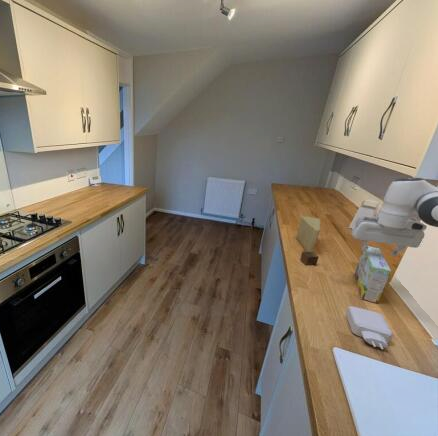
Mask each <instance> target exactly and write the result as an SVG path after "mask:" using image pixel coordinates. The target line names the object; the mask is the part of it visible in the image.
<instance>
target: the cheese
mask: <svg viewBox="0 0 438 436" xmlns="http://www.w3.org/2000/svg"><path fill="white" fill-rule="evenodd" d="M321 225H322V219H321V218H318V217H311V216H301V217H300V221H299V225H298V230H297V233H296V237H295V238H296V239H297V241H298V242H299V243H300V244H301V246H302V247H303V249H304V252H313V253H314V250H315V246H316V243H317V241H318V238H319V235H320V232H321Z"/></svg>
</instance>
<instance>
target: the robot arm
mask: <svg viewBox="0 0 438 436" xmlns="http://www.w3.org/2000/svg"><path fill="white" fill-rule="evenodd" d="M413 215H417V216H418V217H419V219H420V221H419V220H416V219H415V218H413ZM421 221H422V222H421ZM427 225H428V226H430V227H435V228H438V187H437V186H435V185H433V184H431V183H429V182H428V181H427V180H426V179H425V178H422V177H415V176H413V177H412V176H411V177H410V176H409V177H400V178H397V179H395V180H393V181H392V182H391V183H390V184H389V186H388V188H387V190H386V192H385V194H384V197H383V203H382V205H381V206H380V208H378V211H377V216H376V218H368V217H362V218H359V219H357V221H356V224H355V227H354V229H351V233H350V234H351V237H352V238H353V239H355V240H358V241H360V243H361V247H360V249H361V251H363V250H364V251H367V249H368V248H369V247H370V246H369V247H367V246H368V245H366V244H367V243H368V242H372V243H373V242H374V243H379V244H387V245H393V246H397V247H396V248H394V249H393V248H391V250H390V252H389V253H390V255H391V256H396V257H397V256H398V255H399V253H400V252H402V251H403V250H405V249H406V248H407V247H408V248H412V249H413V248H414V249H416V248H419V247H420V246H421V245H420V243H421V241H422V239H423V238H425V235H426V233H425V231H426V230H427ZM423 240H424V239H423ZM422 242H423V241H422ZM419 245H420V246H419Z"/></svg>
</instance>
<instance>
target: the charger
mask: <svg viewBox="0 0 438 436" xmlns="http://www.w3.org/2000/svg"><path fill="white" fill-rule="evenodd" d="M345 316H346V319H347V322H348V325H349V328H350V330H351V333H352V334H354V335H356V336H357V337H360V338H363V340H364V341H365V342H366V343H368V344H369V345H371V346H373V347H374V348H376V347H378V348H380V349H381V350H384V348H389V345H388V344H390V342H391V340H392V338H393V336H394V334H393V331H392V330H391V328H390V327H389V325H388V323H387V321H386V319H385V317H384V315H383V314H382V313H379V312H375V311H372V310H368V309H364V308H361V307H357V306H351V305H350V306H348V307H347V310H346V313H345Z"/></svg>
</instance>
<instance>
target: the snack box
mask: <svg viewBox="0 0 438 436" xmlns="http://www.w3.org/2000/svg"><path fill="white" fill-rule="evenodd" d="M367 247H369V248H368V249H367V251H364V250H361V254H360V257H359V260H358V263H357V266H356V269H355V271H354V276H355V281H356V285H357V289H358V292H359V296H360V299H361V300H363V301H367V302H370V303H374V304H378V303H379V302H380V298H381V297H382V293H383V292H384V289H385V287H386V284H387V283H388V280H389V278H390V275H391V273H392V270H391V268H390V266H389V264H388V262H387V260H386V259H385V257H384V255H383V253H382V251H381V250H380V248H379V247H374V246H369V245H367Z"/></svg>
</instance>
